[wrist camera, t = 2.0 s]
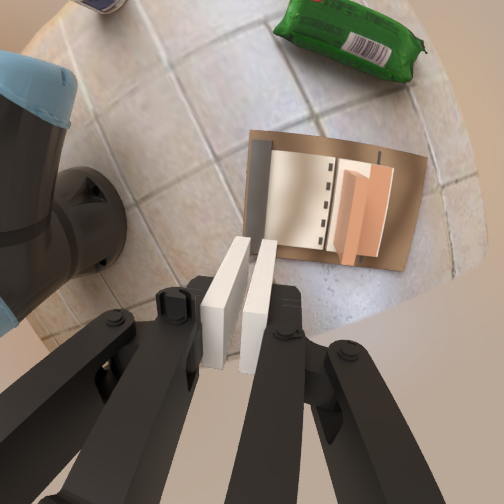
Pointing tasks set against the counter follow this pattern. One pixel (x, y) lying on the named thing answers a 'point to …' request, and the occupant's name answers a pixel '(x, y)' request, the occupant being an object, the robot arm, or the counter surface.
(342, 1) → the snack package
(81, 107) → the counter surface
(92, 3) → the pill bottle
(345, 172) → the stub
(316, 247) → the wooden base board
